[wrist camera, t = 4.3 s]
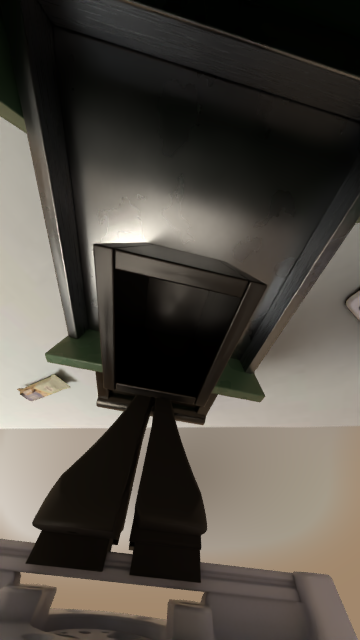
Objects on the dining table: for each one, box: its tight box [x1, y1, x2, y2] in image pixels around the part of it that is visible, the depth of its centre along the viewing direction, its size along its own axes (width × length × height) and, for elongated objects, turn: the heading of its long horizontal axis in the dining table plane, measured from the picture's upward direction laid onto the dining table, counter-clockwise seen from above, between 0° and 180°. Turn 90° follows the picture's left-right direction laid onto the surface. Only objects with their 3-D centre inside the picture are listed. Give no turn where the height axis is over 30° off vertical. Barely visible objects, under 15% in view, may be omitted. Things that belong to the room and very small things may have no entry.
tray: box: [0, 0, 360, 425], centre depth 8 cm, size 18×13×4 cm
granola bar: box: [17, 374, 70, 401], centre depth 16 cm, size 7×2×1 cm, turn 117°
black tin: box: [93, 242, 267, 406], centre depth 7 cm, size 6×4×5 cm
